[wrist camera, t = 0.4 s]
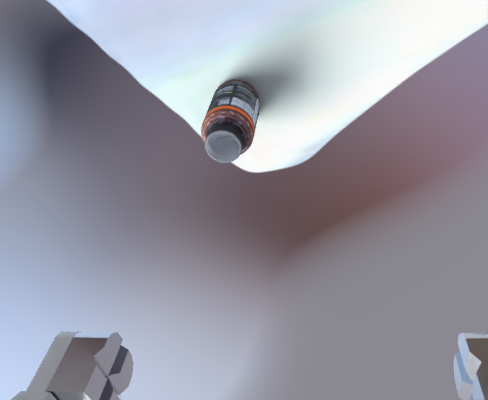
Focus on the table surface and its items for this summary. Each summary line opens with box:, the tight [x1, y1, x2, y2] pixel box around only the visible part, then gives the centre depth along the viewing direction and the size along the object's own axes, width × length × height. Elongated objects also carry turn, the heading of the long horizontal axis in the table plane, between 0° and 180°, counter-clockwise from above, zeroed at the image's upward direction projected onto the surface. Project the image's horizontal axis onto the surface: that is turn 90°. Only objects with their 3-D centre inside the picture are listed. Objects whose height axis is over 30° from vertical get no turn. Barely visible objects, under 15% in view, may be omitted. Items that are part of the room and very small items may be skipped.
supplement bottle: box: [201, 80, 260, 163], centre depth 50 cm, size 6×6×11 cm
